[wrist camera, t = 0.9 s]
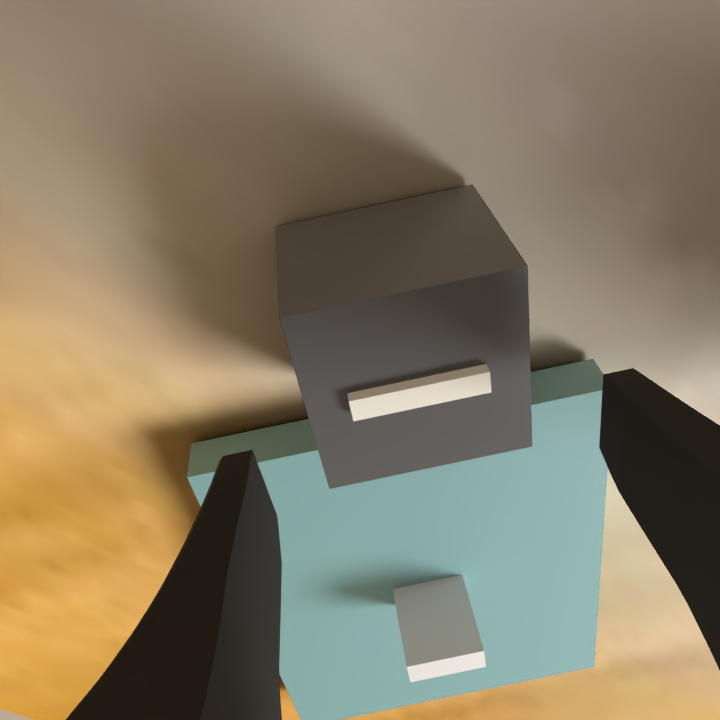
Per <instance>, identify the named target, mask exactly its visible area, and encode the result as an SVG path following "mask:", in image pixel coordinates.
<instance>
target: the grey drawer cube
mask: <svg viewBox="0 0 720 720" xmlns="http://www.w3.org/2000/svg"><path fill="white" fill-rule="evenodd" d="M276 241H277V268H278V294H279V318H280V322H281V325H282V329H283V332H284V336H285V339H286V342H287V346H288V349H289V353H290V356H291V360H292V363H293V366H294V370H295V373H296V377H297V380H298V383H299V387H300V390H301V394H302V397H303V401H304V404H305V407H306V411H307V414H308V418H309V421H310V425H311V428H312V431H313V435H314V438H315V442H316V445H317V448H318V452H319V455H320V459H321V462H322V466H323V469H324V472H325V476H326V479H327V483H328V486H329V489H332V488H337V487H342V486H347V485H351V484H356V483H361V482H366V481H371V480H375V479H380V478H385V477H390V476H394V475H399V474H404V473H409V472H413V471H418V470H423V469H428V468H433V467H437V466H442V465H447V464H452V463H456V462H461V461H466V460H471V459H475V458H480V457H485V456H490V455H495V454H499V453H504V452H509V451H514V450H518V449H523V448H528V447H532V411H531V375H530V338H529V301H528V266H527V264H526V263H525V261H524V260H523V258H522V257H521V255H520V254H519V252H518V251H517V249H516V248H515V247H514V245H513V244H512V242H511V241H510V239H509V238H508V236H507V235H506V233H505V232H504V230H503V229H502V227H501V226H500V224H499V223H498V221H497V220H496V219H495V217H494V216H493V214H492V213H491V211H490V210H489V208H488V207H487V205H486V204H485V202H484V201H483V199H482V198H481V196H480V195H479V193H478V192H477V191H476V189H475V188H474V186H473V185H468V186H463V187H458V188H454V189H449V190H444V191H440V192H435V193H430V194H425V195H421V196H416V197H411V198H407V199H402V200H397V201H392V202H388V203H383V204H378V205H374V206H369V207H364V208H360V209H355V210H350V211H345V212H341V213H336V214H331V215H327V216H322V217H317V218H313V219H308V220H303V221H298V222H294V223H289V224H284V225H280V226H276Z"/></svg>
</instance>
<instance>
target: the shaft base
mask: <svg viewBox="0 0 720 720" xmlns="http://www.w3.org/2000/svg"><path fill="white" fill-rule="evenodd" d="M530 375H531V411H532V447H528V448H523V449H518V450H514V451H509V452H504V453H499V454H495V455H490V456H485V457H480V458H475V459H471V460H466V461H461V462H456V463H452V464H447V465H442V466H437V467H433V468H428V469H423V470H418V471H413V472H409V473H404V474H399V475H394V476H390V477H385V478H380V479H375V480H371V481H366V482H361V483H356V484H351V485H347V486H342V487H337V488H332V489H329V486H328V483H327V479H326V476H325V472H324V469H323V466H322V462H321V459H320V455H319V452H318V448H317V445H316V442H315V438H314V435H313V431H312V428H311V425H310V421H309V419H305V420H300V421H296V422H291V423H286V424H281V425H277V426H272V427H267V428H262V429H258V430H253V431H248V432H243V433H239V434H234V435H229V436H224V437H220V438H215V439H210V440H205V441H201V442H196V443H191V449H190V457H189V465H188V473H187V479H188V481H189V483H190V485H191V487H192V489H193V491H194V494H195V496H196V498H197V500H198V502H199V504H200V506H202V503H203V501H204V499H205V496H206V494H207V491H208V489H209V487H210V484H211V482H212V479H213V476H214V474H215V471H216V468H217V466H218V463H219V461H220V459H221V458H222V457H223V456H225V455H230V454H235V453H239V452H244V451H249V450H253V452H254V455H255V458H256V460H257V463H258V466H259V468H260V471H261V474H262V476H263V479H264V482H265V484H266V487H267V490H268V492H269V495H270V498H271V501H272V503H273V506H274V509H275V511H276V514H277V518H278V527H279V537H280V548H281V560H282V578H281V620H280V659H279V674H280V676H281V679H282V681H283V683H284V685H285V687H286V689H287V691H288V693H289V696H290V698H291V700H292V702H293V704H294V706H295V708H296V711H297V713H298V715H299V717H300V719H301V720H340V719H345V718H349V717H354V716H359V715H364V714H369V713H373V712H378V711H383V710H388V709H393V708H398V707H402V706H407V705H412V704H417V703H422V702H426V701H431V700H436V699H441V698H446V697H451V696H455V695H460V694H465V693H470V692H475V691H480V690H484V689H489V688H494V687H499V686H504V685H508V684H513V683H518V682H523V681H528V680H533V679H537V678H542V677H547V676H552V675H557V674H562V673H566V672H571V671H576V670H581V669H586V668H590V667H594V662H595V647H596V632H597V617H598V602H599V587H600V572H601V557H602V542H603V527H604V512H605V497H606V482H607V464H606V462H605V460H604V457H603V455H602V453H601V451H600V448H599V442H600V424H601V406H602V388H603V375H604V374H603V373H602V371H601V370H600V369H599V367H598V366H597V364H596V363H595V361H594V360H593V359H590V360H585V361H581V362H576V363H571V364H566V365H562V366H557V367H552V368H547V369H543V370H538V371H533V372H530Z"/></svg>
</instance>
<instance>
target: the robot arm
mask: <svg viewBox="0 0 720 720" xmlns="http://www.w3.org/2000/svg"><path fill="white" fill-rule="evenodd" d="M599 448H600V451H601V453H602V455H603V457H604V460H605V462H606V464H607V467H608V469H609V471H610V473H611V475H612V478H613V480H614V482H615V484H616V486H617V488H618V490H619V492H620V494H621V495H622V497H623V499H624V500H625V502H626V504H627V505H628V507H629V509H630V510H631V512H632V513H633V515H634V517H635V518H636V520H637V522H638V523H639V525H640V526H641V528H642V530H643V531H644V533H645V534H646V536H647V538H648V539H649V541H650V542H651V544H652V546H653V547H654V549H655V550H656V552H657V554H658V555H659V557H660V558H661V560H662V562H663V563H664V565H665V566H666V568H667V570H668V571H669V573H670V574H671V576H672V578H673V579H674V581H675V582H676V584H677V586H678V588H679V589H680V591H681V593H682V595H683V596H684V598H685V600H686V602H687V603H688V605H689V607H690V609H691V612H692V614H693V616H694V618H695V620H696V622H697V624H698V626H699V628H700V630H701V632H702V634H703V636H704V638H705V640H706V642H707V644H708V646H709V648H710V650H711V652H712V655H713V657H714V659H715V661H716V663H717V665H718V667H719V670H720V425H718V424H716V423H715V422H713V421H712V420H710V419H709V418H707V417H705V416H704V415H702V414H701V413H699V412H698V411H696V410H695V409H693V408H691V407H690V406H688V405H687V404H685V403H684V402H682V401H681V400H679V399H678V398H676V397H675V396H673V395H672V394H670V393H669V392H668V391H666V390H665V389H663V388H662V387H660V386H659V385H657V384H656V383H654V382H653V381H651V380H650V379H648V378H647V377H645V376H644V375H642V374H641V373H639V372H638V371H636V370H635V369H633V368H632V369H628V370H623V371H618V372H613V373H609V374H604V375H603V388H602V406H601V424H600V442H599ZM281 578H282V560H281V548H280V537H279V527H278V518H277V514H276V511H275V509H274V506H273V503H272V501H271V498H270V495H269V492H268V490H267V487H266V484H265V482H264V479H263V476H262V474H261V471H260V468H259V466H258V463H257V460H256V458H255V455H254V452H253V450H249V451H244V452H239V453H235V454H230V455H225V456H223V457H222V458H221V459H220V461H219V463H218V466H217V468H216V471H215V474H214V476H213V479H212V482H211V484H210V487H209V489H208V491H207V494H206V496H205V499H204V501H203V503H202V506H201V508H200V510H199V513H198V515H197V517H196V519H195V521H194V523H193V526H192V528H191V530H190V532H189V534H188V536H187V538H186V541H185V543H184V545H183V547H182V549H181V551H180V553H179V554H178V556H177V558H176V560H175V562H174V564H173V566H172V568H171V569H170V571H169V573H168V575H167V577H166V579H165V581H164V583H163V584H162V586H161V588H160V590H159V591H158V593H157V595H156V596H155V598H154V600H153V601H152V603H151V605H150V606H149V608H148V610H147V611H146V613H145V614H144V616H143V617H142V619H141V621H140V622H139V624H138V625H137V627H136V628H135V630H134V631H133V633H132V634H131V636H130V637H129V639H128V640H127V641H126V643H125V644H124V646H123V647H122V648H121V650H120V651H119V653H118V654H117V656H116V657H115V658H114V660H113V661H112V663H111V664H110V665H109V667H108V668H107V669H106V671H105V672H104V673H103V675H102V676H101V677H100V679H99V680H98V681H97V682H96V684H95V685H94V686H93V687H92V689H91V690H90V691H89V692H88V693H87V695H86V696H85V697H84V698H83V699H82V701H81V702H80V703H79V704H78V706H77V707H76V708H75V709H74V710H73V712H72V713H71V714H70V715H69V716H68V718H67V719H66V720H282V716H281V702H280V681H279V659H280V620H281Z"/></svg>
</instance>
